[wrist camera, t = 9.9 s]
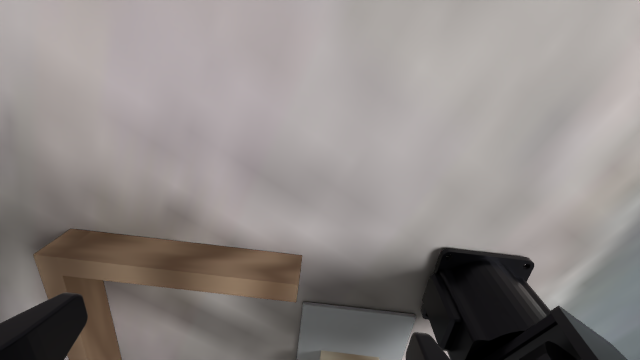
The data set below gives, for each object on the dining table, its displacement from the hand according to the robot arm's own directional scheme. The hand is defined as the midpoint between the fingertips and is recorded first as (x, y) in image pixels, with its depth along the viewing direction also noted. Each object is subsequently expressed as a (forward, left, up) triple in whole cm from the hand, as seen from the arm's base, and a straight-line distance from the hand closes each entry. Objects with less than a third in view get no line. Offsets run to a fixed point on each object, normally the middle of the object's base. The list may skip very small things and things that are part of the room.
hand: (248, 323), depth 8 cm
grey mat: (-6, +19, -12) cm, 23 cm away
